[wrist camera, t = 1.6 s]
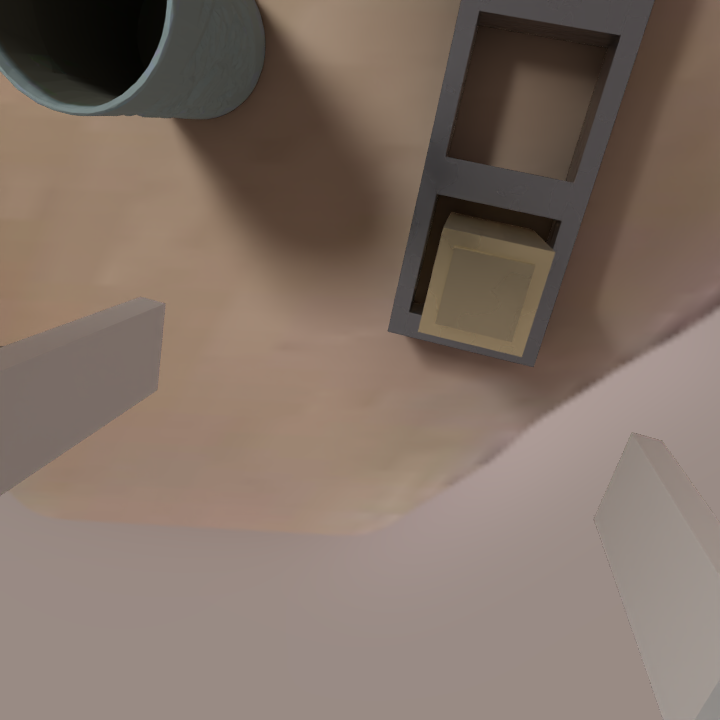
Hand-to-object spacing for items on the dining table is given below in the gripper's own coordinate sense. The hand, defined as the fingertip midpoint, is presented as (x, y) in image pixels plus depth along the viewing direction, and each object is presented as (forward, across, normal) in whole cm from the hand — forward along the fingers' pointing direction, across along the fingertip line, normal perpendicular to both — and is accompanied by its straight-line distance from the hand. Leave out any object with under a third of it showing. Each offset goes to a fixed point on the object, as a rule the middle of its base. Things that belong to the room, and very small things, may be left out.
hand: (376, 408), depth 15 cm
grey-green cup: (+22, -18, +10) cm, 30 cm away
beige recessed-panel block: (+22, +3, +2) cm, 22 cm away
